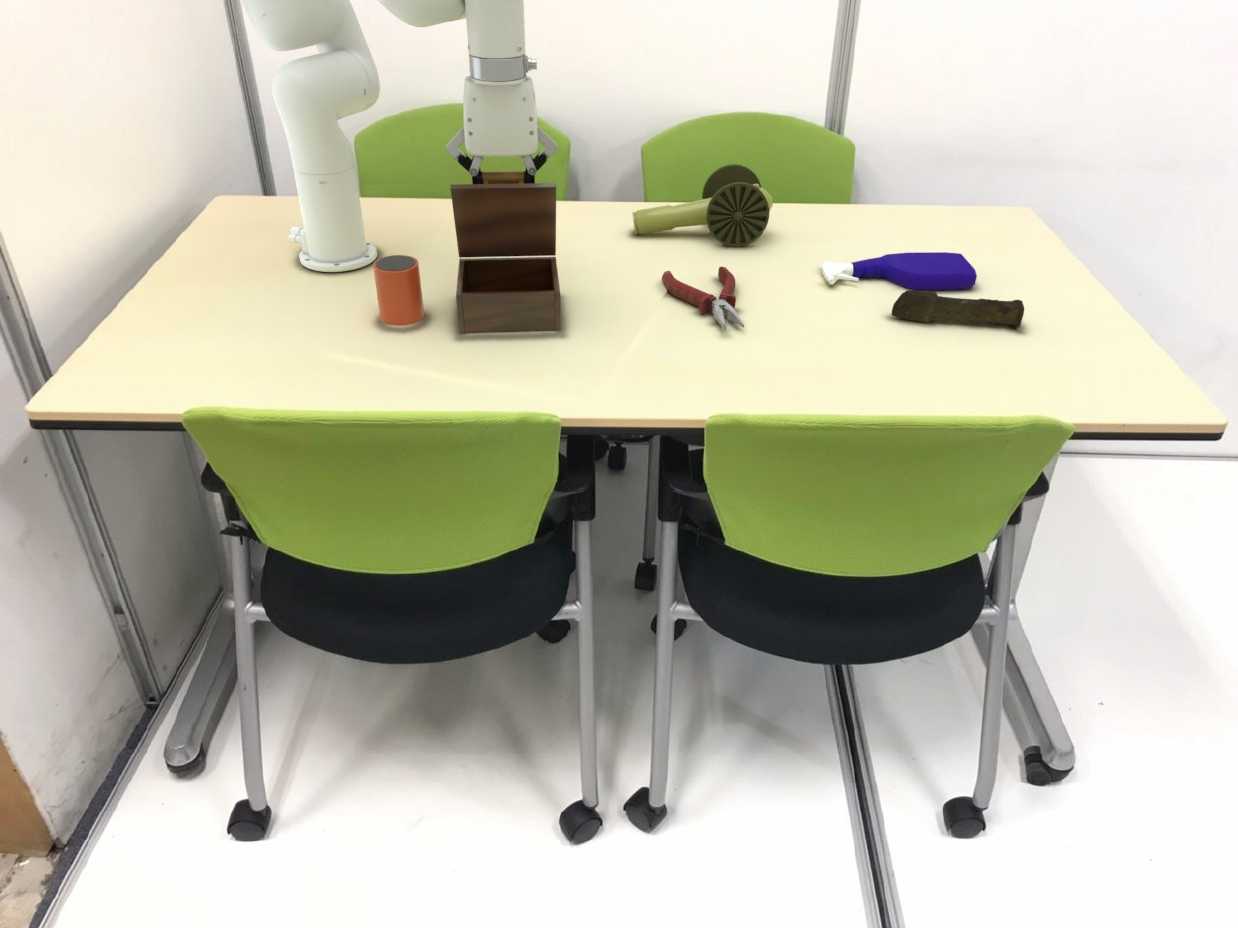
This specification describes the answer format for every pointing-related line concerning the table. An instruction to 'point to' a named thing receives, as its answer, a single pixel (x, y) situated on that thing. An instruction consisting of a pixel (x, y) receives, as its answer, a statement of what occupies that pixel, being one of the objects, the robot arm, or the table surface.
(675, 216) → the cannon
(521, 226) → the lid
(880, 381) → the table surface
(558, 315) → the box
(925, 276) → the spray bottle
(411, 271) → the tin
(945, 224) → the table surface
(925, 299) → the hand tool
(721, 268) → the pliers
